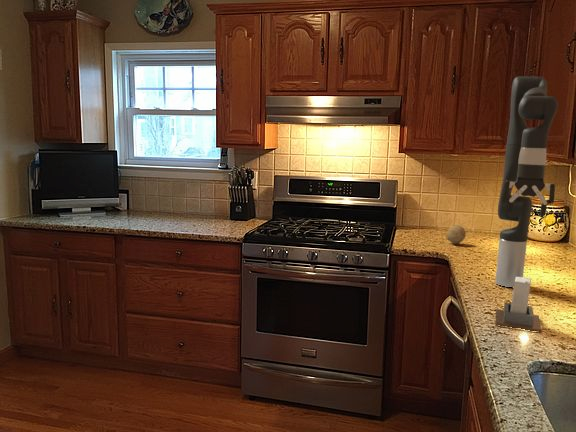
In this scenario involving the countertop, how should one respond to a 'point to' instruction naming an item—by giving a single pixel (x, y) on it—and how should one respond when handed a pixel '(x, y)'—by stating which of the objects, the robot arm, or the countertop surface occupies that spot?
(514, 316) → the collar
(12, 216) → the countertop surface
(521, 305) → the skincare box
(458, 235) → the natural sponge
